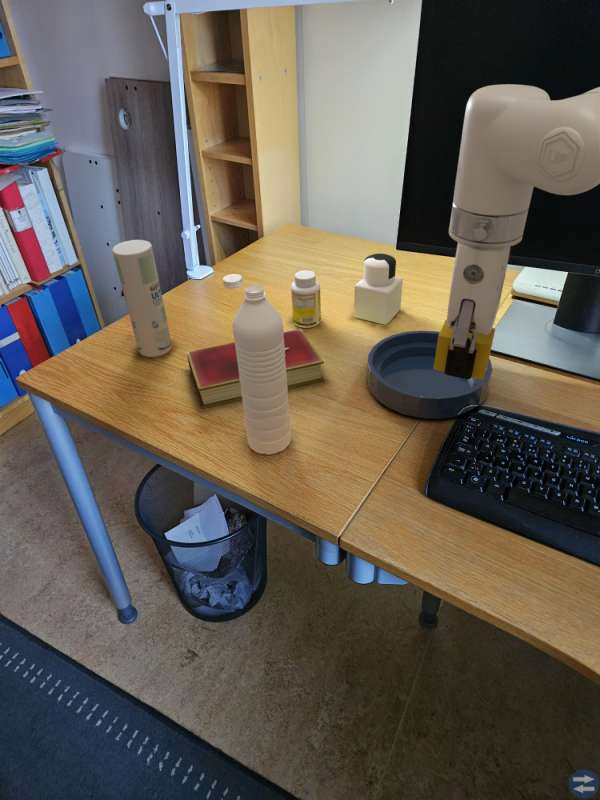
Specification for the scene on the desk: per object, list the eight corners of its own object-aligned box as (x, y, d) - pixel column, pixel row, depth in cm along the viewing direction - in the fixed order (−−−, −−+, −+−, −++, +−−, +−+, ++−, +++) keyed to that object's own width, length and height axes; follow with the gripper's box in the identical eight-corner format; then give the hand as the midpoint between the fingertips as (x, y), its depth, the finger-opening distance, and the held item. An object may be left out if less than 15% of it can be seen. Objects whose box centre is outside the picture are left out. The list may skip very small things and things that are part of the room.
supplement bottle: (307, 312, 114) (305, 265, 108) (326, 321, 111) (326, 273, 105) (287, 322, 111) (284, 274, 105) (306, 332, 108) (304, 283, 102)
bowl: (496, 364, 97) (500, 342, 94) (474, 434, 83) (479, 410, 80) (387, 343, 103) (388, 322, 101) (350, 404, 89) (350, 381, 87)
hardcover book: (189, 369, 99) (186, 349, 97) (301, 345, 104) (300, 326, 101) (202, 408, 90) (198, 387, 88) (324, 380, 95) (323, 360, 92)
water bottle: (300, 440, 83) (291, 286, 68) (267, 462, 80) (250, 305, 64) (261, 414, 88) (245, 266, 73) (229, 434, 85) (205, 283, 70)
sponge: (488, 362, 70) (495, 328, 67) (483, 380, 67) (490, 345, 64) (440, 353, 72) (445, 319, 69) (433, 370, 69) (438, 335, 66)
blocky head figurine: (368, 302, 116) (371, 247, 109) (400, 310, 113) (405, 253, 106) (353, 317, 112) (354, 261, 104) (386, 325, 109) (390, 268, 101)
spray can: (167, 357, 103) (145, 254, 91) (133, 357, 103) (106, 255, 91) (176, 339, 108) (156, 239, 96) (143, 339, 108) (119, 239, 96)
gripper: (515, 257, 51) (481, 412, 62) (532, 199, 63) (501, 337, 74) (433, 246, 54) (415, 397, 65) (465, 192, 66) (445, 327, 77)
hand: (461, 364), depth 69 cm, fingers closed on sponge, 4 cm apart
